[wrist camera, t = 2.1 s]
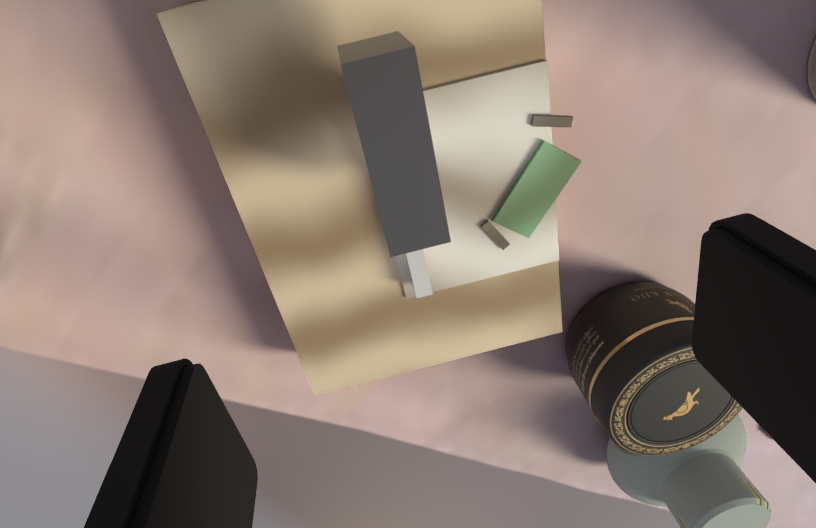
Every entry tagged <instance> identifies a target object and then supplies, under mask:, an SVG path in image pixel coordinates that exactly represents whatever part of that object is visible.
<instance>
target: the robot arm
mask: <svg viewBox="0 0 816 528" xmlns="http://www.w3.org/2000/svg"><path fill="white" fill-rule="evenodd" d="M692 350H693V353H694V355H695V357H696V359H697V360H698V362H699V363H700V364H701V365H702V366H703V367H704V368H705V369H706V370H707V371H708V372H709V373H710V374H711V375H712V376H713V377H714V378H715V379H716V381H717V382H718V383H719V384H720V385H721V386H722V387H723V388H724V389H725V390H726V391H727V392H728V393H729V394H730V395H731V396H732V397H733V398H734V399H735V400H736V401H737V402H738V403H739V404H740V405H741V406H742V407H743V408H744V409H745V410H746V412H747V413H748V414H749V415H750V416H751V417H752V418H753V419H754V420H755V421H756V422H757V423H758V424H759V425H760V426H761V427H762V428H763V429H764V430H765V431H766V432H767V433H768V434H769V435H770V436H771V437H772V438H773V439H774V440H775V441H776V443H777V444H778V445H779V446H780V447H781V448H782V449H783V450H784V451H785V452H786V453H787V454H788V455H789V456H790V457H791V458H792V459H793V460H794V461H795V462H796V463H797V464H798V465H799V466H800V467H801V468H802V469H803V470H804V471H805V472H806V474H807V475H808V476H809V477H810V478H811V479H812V480H813V481H814V482H815V483H816V250H814V249H813V248H811V247H809V246H807V245H806V244H804V243H802V242H800V241H799V240H797V239H795V238H793V237H792V236H790V235H788V234H786V233H784V232H783V231H781V230H779V229H777V228H776V227H774V226H772V225H770V224H769V223H767V222H765V221H763V220H761V219H760V218H758V217H756V216H754V215H752V214H749V213H746V214H740V215H737V216H733V217H729V218H725V219H721V220H717V221H715V222H713V223H712V224H711V226H710V227H709V231H707V232H705V233H704V234H703V236H702V240H701V251H700V261H699V271H698V282H697V292H696V302H695V313H694V323H693V333H692ZM256 489H257V468H256V464H255V461H254V459H253V457H252V455H251V453H250V451H249V449H248V448H247V446H246V444H245V442H244V440H243V438H242V437H241V435H240V433H239V431H238V429H237V427H236V426H235V424H234V422H233V420H232V418H231V416H230V414H229V413H228V411H227V409H226V407H225V405H224V403H223V402H222V400H221V398H220V396H219V394H218V392H217V390H216V389H215V387H214V385H213V383H212V381H211V379H210V378H209V376H208V374H207V372H206V370H205V369H204V367H203V366H202V365H201V364H194V365H193V364H192V362H191V361H190V360H188V359H181V360H177V361H174V362H170V363H166V364H162V365H158V366H155V367H153V368H152V369H151V370H150V372H149V374H148V376H147V379H146V381H145V383H144V386H143V388H142V391H141V393H140V395H139V398H138V400H137V402H136V405H135V407H134V410H133V412H132V414H131V417H130V419H129V422H128V424H127V426H126V429H125V431H124V434H123V436H122V438H121V441H120V443H119V446H118V448H117V451H116V453H115V455H114V458H113V460H112V462H111V464H110V466H109V469H108V471H107V474H106V476H105V479H104V481H103V483H102V485H101V488H100V490H99V493H98V495H97V497H96V500H95V502H94V505H93V507H92V510H91V512H90V514H89V517H88V519H87V521H86V524H85V526H84V528H252V523H253V514H254V506H255V497H256Z"/></svg>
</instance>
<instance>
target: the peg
mask: <svg viewBox="0 0 816 528" xmlns="http://www.w3.org/2000/svg"><path fill="white" fill-rule="evenodd" d="M337 48H338V53H339V58H340V64H341V68H342V71H343V75H344V79H345V83H346V87H347V91H348V95H349V99H350V102H351V106H352V110H353V114H354V118H355V122H356V126H357V129H358V133H359V137H360V141H361V145H362V149H363V153H364V157H365V160H366V164H367V168H368V172H369V176H370V180H371V184H372V187H373V191H374V195H375V199H376V203H377V207H378V211H379V214H380V218H381V222H382V226H383V230H384V234H385V238H386V242H387V245H388V249H389V253H390V257H394V256H398V255H402V254H406V257H407V261H408V265H409V269H410V273H411V278H412V282H413V286H414V290H415V294H416V297H417V298H420V297H424V296H428V295H432V294H433V293H432V288H431V283H430V279H429V274H428V270H427V265H426V261H425V256H424V251H423V249H425V248H429V247H433V246H437V245H441V244H445V243H449V242H451V239H450V234H449V229H448V223H447V218H446V212H445V207H444V201H443V196H442V191H441V185H440V180H439V174H438V169H437V164H436V158H435V153H434V147H433V142H432V136H431V131H430V126H429V120H428V115H427V109H426V104H425V99H424V93H423V88H422V82H421V77H420V71H419V66H418V61H417V55H416V50H415V46H414V45H413V44H412V43H411V42H410V41H409V40H407V39H406V38H405V37H404V36H403V35H402V34H401V33H400V32H398V31H396V32H392V33H388V34H384V35H380V36H376V37H372V38H367V39H363V40H359V41H355V42H351V43H347V44H343V45H339V46H337Z"/></svg>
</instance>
